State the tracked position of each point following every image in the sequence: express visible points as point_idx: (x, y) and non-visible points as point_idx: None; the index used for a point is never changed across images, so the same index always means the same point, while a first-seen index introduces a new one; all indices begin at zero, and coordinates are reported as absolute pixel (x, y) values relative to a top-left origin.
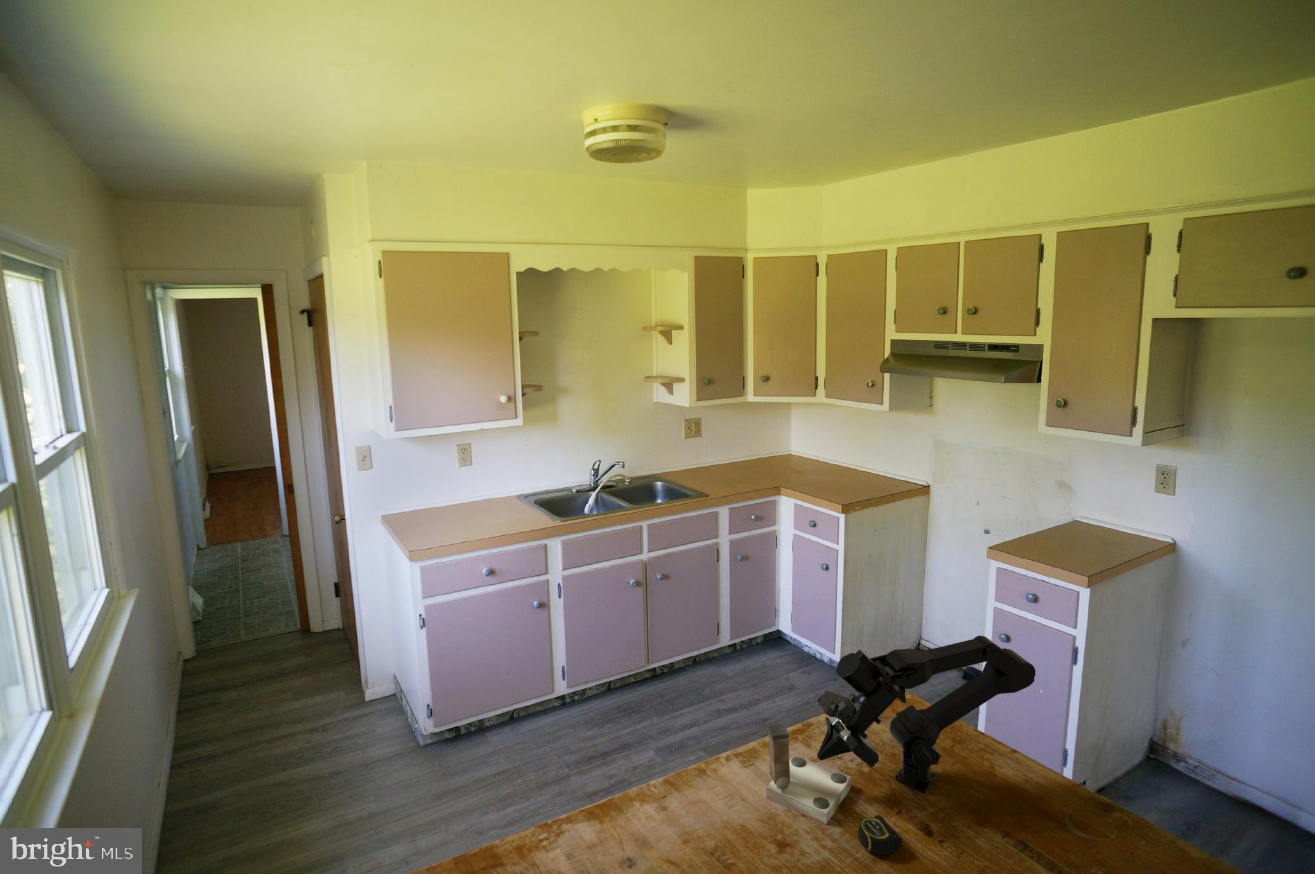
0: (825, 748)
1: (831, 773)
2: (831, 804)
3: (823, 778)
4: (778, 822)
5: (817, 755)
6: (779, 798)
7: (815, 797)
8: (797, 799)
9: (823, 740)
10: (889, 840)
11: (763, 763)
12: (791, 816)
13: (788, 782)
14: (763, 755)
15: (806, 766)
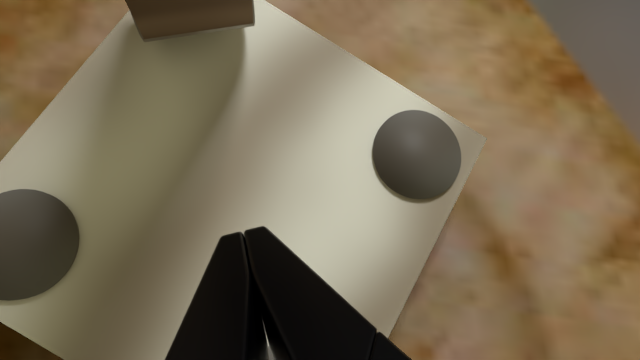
0: (206, 337)
1: None
2: (4, 315)
3: None
4: (11, 24)
5: (252, 230)
6: None
7: (82, 214)
8: (66, 99)
9: (367, 326)
10: None
11: (443, 16)
12: (53, 91)
13: (138, 29)
14: (500, 24)
15: (385, 197)
